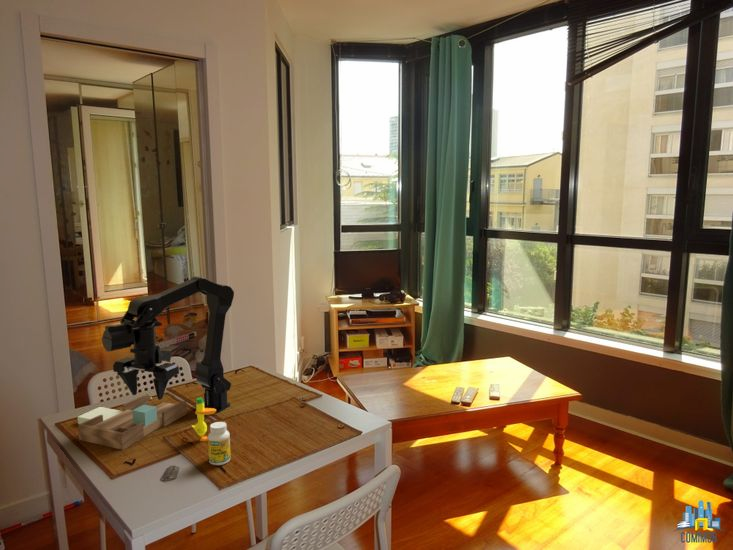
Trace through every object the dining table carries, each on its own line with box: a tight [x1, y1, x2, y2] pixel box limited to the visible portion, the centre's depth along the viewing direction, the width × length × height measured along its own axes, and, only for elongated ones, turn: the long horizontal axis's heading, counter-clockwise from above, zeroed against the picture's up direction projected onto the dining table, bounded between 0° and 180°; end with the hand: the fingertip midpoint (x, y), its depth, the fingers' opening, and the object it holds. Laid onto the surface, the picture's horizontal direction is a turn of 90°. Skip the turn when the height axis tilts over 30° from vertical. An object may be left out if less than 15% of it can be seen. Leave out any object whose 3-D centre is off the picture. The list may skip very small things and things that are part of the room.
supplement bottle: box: [207, 421, 232, 466], centre depth 131 cm, size 5×5×10 cm
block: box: [132, 404, 157, 426], centre depth 148 cm, size 4×4×4 cm
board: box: [77, 406, 123, 425], centre depth 155 cm, size 10×8×2 cm
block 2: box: [160, 465, 180, 482], centre depth 125 cm, size 4×6×2 cm, turn 10°
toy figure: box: [191, 397, 217, 442], centre depth 142 cm, size 7×4×12 cm, turn 99°
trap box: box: [77, 393, 188, 451], centre depth 151 cm, size 16×25×4 cm, turn 159°
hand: (147, 397), depth 147 cm, fingers open, 9 cm apart
